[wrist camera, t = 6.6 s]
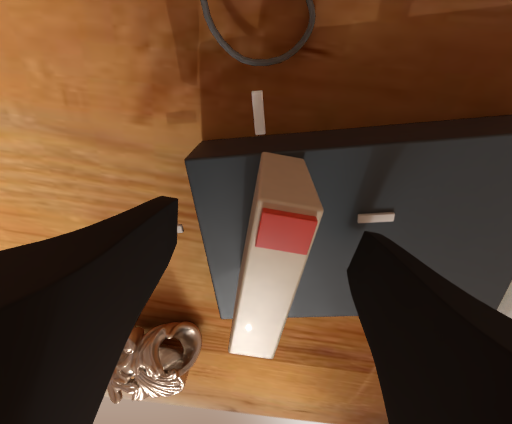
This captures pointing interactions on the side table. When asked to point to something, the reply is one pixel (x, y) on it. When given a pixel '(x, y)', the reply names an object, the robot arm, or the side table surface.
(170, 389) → the ornament
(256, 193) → the handle
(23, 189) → the side table surface
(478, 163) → the panel
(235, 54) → the headphones
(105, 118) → the side table surface
